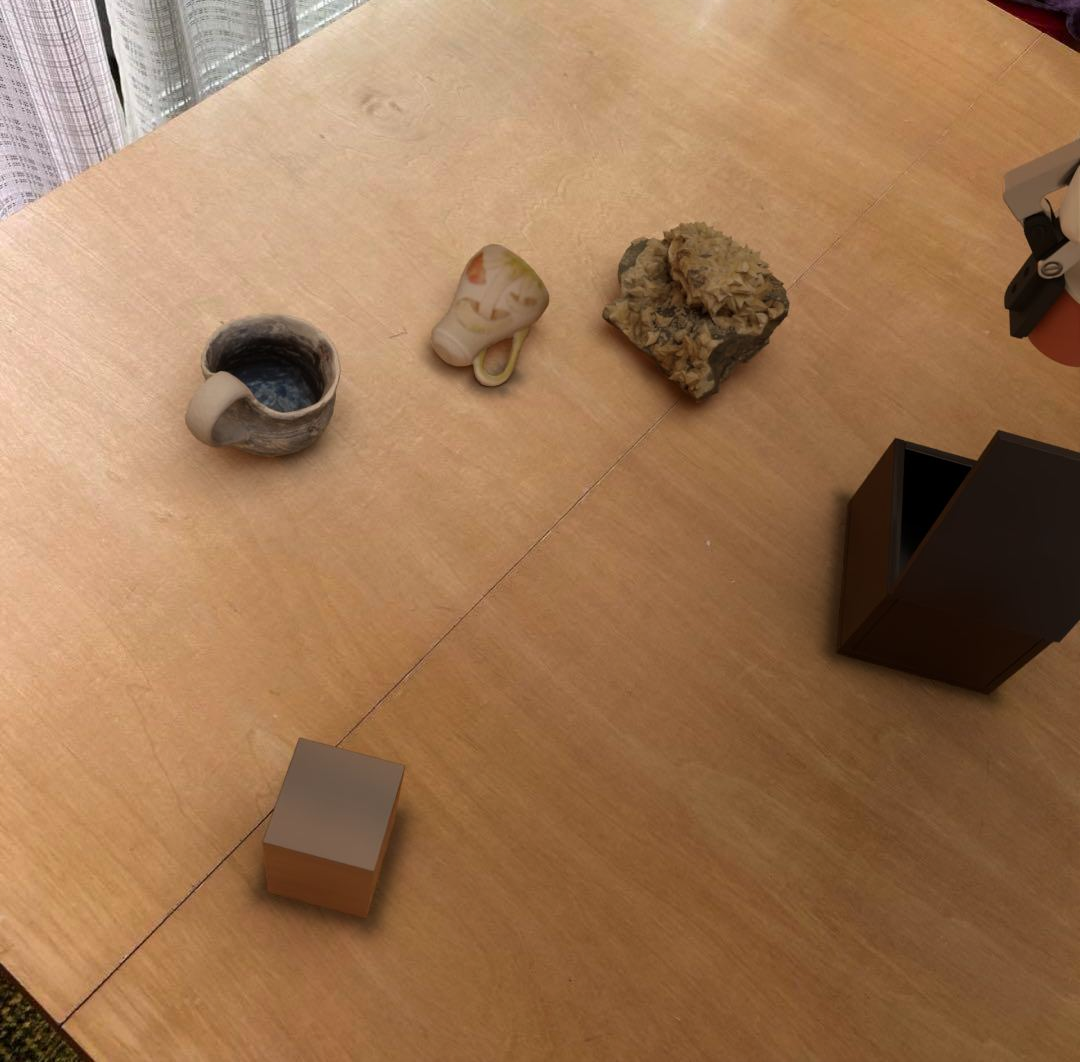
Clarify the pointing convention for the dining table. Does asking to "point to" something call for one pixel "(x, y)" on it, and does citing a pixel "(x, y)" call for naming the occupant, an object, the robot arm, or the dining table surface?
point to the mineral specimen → (696, 305)
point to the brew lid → (1006, 542)
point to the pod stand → (331, 827)
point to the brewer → (881, 554)
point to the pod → (1061, 324)
